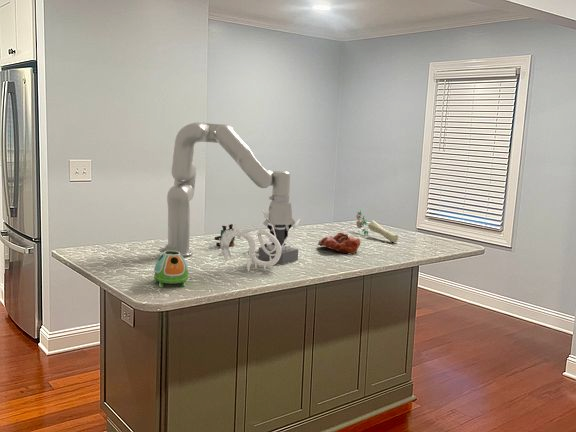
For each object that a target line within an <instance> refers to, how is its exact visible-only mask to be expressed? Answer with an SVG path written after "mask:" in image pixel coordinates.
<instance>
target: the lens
mask: <svg viewBox="0 0 576 432" xmlns="http://www.w3.org/2000/svg"><path fill="white" fill-rule="evenodd" d="M274 230H275V234H276V238H277V240H278V241H279V243H280V245H281V246H282V244H283V243H284V238H285V225H275V228H274ZM273 245H275V244H274V243H273Z"/></svg>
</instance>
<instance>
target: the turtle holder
mask: <svg viewBox="0 0 576 432" xmlns="http://www.w3.org/2000/svg"><path fill="white" fill-rule="evenodd" d="M169 253H172V254H173V255H170V254H169ZM153 271H154V274H153V277H154V283H158V287H159V288H163V287H164V284H181V285H180V286H181V287H182V286H183V287H182V288H184V287H186V282H185V281H187V280H188V279H189V267H188V263H187V261H186V259H185V257H182V255H181V254H180V252H178V251H164V252H162V253H161V254H160V255H159V256H158V258H157V261H156V263H155V266H154V269H153Z"/></svg>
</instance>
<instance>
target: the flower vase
mask: <svg viewBox="0 0 576 432" xmlns="http://www.w3.org/2000/svg"><path fill="white" fill-rule="evenodd" d="M356 213H357V214H356V215H355V217H356V219H357V221H356V227H357V229H361V228H363V227H365V226H364V225H366V226H368V227H367V228H363V229H362V231H361V232H362V233H363V235H364V236H365V235H366V234H367V235H368V234H369V231H368V230H370V231H371V232H374V233H377V234H379V235H381V236H383V237H384V238H385V239H387V241H389V242H390V243H392V242H396V243H397V242H398V240H399V235H397V234H395V233H393V232H391V231H389V230H387V229H385V228H384V227H382V226H381V225H380V224H379V223H378V222H376V221H375V220H371V222H370V223H368V222H366V220H365V216H363V214H362V210H360V211H358V212H356Z"/></svg>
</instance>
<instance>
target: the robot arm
mask: <svg viewBox="0 0 576 432" xmlns="http://www.w3.org/2000/svg"><path fill="white" fill-rule="evenodd" d="M203 142H204V143H213V144H214V143H215V144H219V146H221V148H222V149H224V151H225V152H226V153H227V154H228V155H229V156H230V157H231V158H232V159H233V160H234V162H235V163H236V164H237V165H238V166H239V168H240V169H241V170H242V171H243V173H245V174H246V176H247V177H248V178H249V179H250V181H252V183H253V184H255V186H257V187H258V188H260V189H266V188H268V187H270V186H272V191H271V192H272V193H271V195H270V196H269V197H268V199H269V200H271V201H270V203H269V208H268V212H267V214H268V215H269V220H270V222H271V224H272V225H273V228H275V225H285V238H284V239H286V238H287V236H288V235H289V232H290V229H291V228H293V225H294V224H295V223H296V221H295V220H294V219H293V213H292V212H293V209H292V203H291V202H290V187H291V173H290V172H289V171H286V170H272V169H271V170H269V169H265V167H263V166H262V165H261V163H260V162H259V161H258V160H257V158H256V157H255V156H254V154H253V152H252V150H251V148H250V147H249V146H248V145H247V143H245V142H244V141H243V139H242V138H241V137H240V136H239V135H238V134H237V133H236V130H235V129H234V127H233V126H231V125H230V124H219V123H209V122H208V123H207V122H191V123H188V124H187V125H185V126H182V128H181V129H180V130H179V131H178V132H177V134H176V137H175V140H174V147H173V156H172V165H171V175H172V177H173V179H174V184H173V186H171V187H170V188H169V190H168V192H167V196H166V198H167V199H166V201H167V244H165V247H161V248H159V249H158V251H159V253H161V254H162V253H163V252H164V251H178V252H180V254H181V255H182V257H183V258H185V257H191V256H193V251H192V250H191V249H190V235H191V234H190V225H191V223H190V222H191V219H190V218H191V217H190V215H191V212H190V211H191V210H190V202H191V200H192V199H193V198H194V194H195V187H196V186H195V185H196V177H197V168H196V167H197V166H196V164H195V163H194V162H193V160H194V159H193V158H194V154H195V153H194V147H195V145H196V143H203ZM269 220H268V219H266V218H265V219H264V221H263V225H264V226H265V227H266V228H267V229H269V233H271V234H272V235H274V231H273V228H272V226H271V225H270V222H269ZM169 254H170V255H173V254H172V253H169Z"/></svg>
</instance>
